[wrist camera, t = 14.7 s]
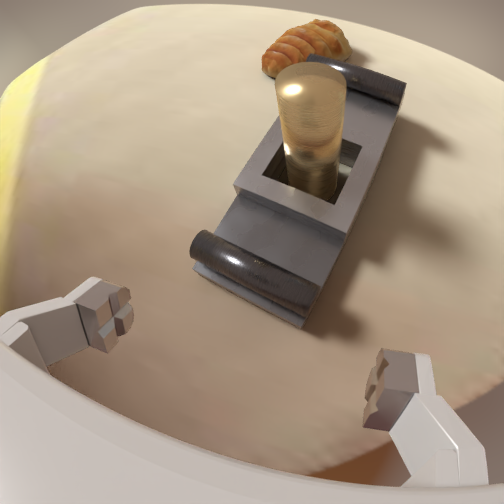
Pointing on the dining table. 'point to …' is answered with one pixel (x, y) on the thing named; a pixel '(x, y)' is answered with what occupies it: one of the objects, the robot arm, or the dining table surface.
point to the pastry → (305, 46)
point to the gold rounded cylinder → (312, 125)
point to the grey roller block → (298, 207)
